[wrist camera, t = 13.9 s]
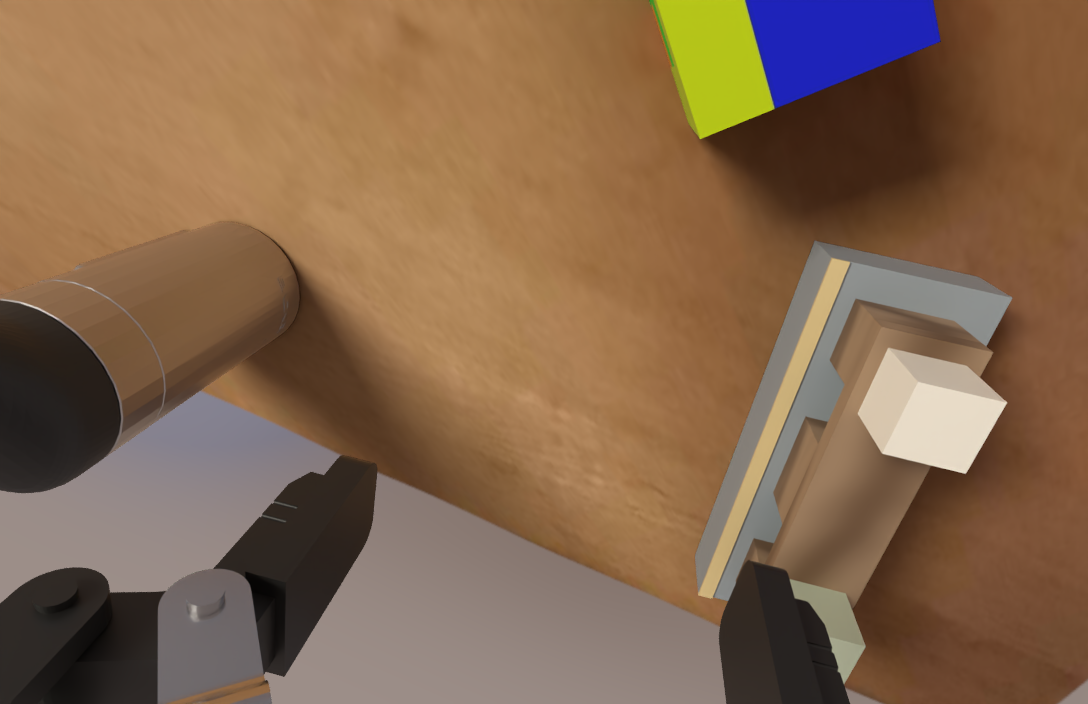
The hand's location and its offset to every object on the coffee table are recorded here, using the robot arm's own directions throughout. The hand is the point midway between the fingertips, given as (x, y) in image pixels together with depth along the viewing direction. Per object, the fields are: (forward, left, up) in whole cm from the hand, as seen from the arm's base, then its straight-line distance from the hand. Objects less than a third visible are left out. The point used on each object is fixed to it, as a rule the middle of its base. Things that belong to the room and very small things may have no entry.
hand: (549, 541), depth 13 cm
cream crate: (+17, -3, -22) cm, 28 cm away
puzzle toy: (+4, +14, -30) cm, 34 cm away
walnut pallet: (+17, -11, -26) cm, 33 cm away
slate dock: (+17, -11, -30) cm, 36 cm away
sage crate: (+17, -19, -22) cm, 33 cm away
